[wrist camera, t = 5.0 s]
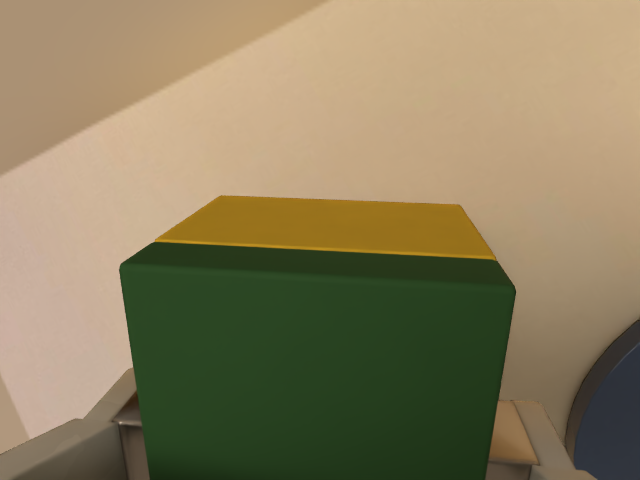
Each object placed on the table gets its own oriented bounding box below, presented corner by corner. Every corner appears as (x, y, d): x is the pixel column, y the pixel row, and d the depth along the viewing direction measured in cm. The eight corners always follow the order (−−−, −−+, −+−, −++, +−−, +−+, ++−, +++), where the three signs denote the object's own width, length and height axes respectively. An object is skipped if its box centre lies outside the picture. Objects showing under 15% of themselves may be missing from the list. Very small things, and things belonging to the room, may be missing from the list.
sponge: (219, 194, 10) (115, 264, 6) (461, 203, 9) (519, 288, 5) (238, 484, 12) (174, 663, 8) (427, 506, 12) (449, 708, 8)
